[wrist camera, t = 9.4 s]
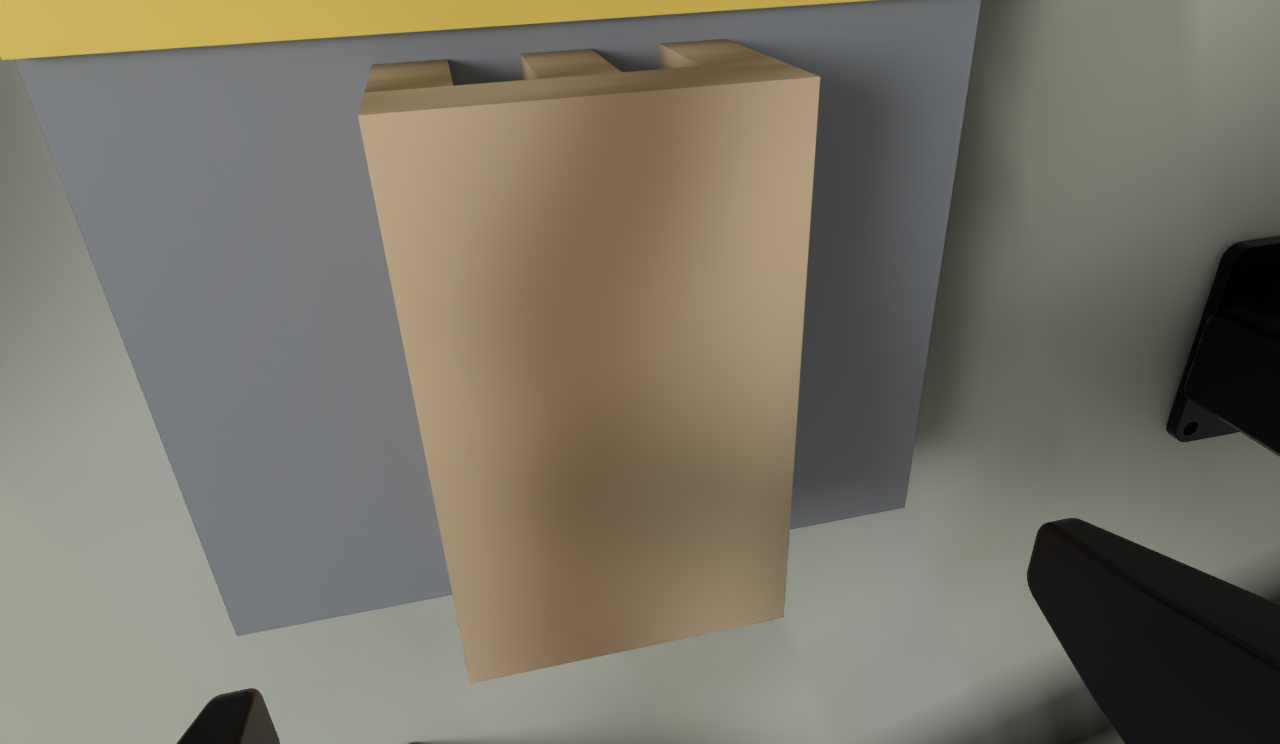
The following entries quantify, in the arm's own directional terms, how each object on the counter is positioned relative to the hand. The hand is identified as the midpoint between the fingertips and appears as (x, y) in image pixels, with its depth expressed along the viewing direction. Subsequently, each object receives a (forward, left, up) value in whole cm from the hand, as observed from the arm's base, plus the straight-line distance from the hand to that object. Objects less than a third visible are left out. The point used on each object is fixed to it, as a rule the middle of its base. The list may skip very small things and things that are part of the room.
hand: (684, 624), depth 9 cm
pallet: (0, 0, -8) cm, 8 cm away
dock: (0, 0, -11) cm, 11 cm away
